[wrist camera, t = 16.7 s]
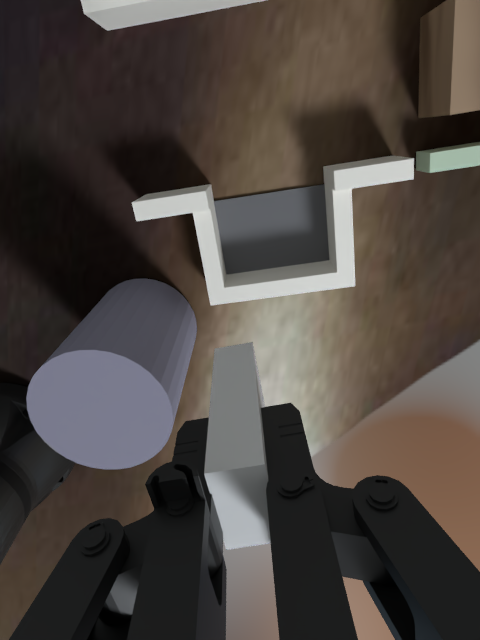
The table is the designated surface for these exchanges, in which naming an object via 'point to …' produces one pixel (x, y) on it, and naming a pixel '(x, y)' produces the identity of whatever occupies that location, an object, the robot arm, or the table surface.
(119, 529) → the robot arm
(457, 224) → the table surface
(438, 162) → the rails
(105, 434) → the lavender cylinder
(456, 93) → the block
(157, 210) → the white walled enclosure
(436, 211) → the table surface
